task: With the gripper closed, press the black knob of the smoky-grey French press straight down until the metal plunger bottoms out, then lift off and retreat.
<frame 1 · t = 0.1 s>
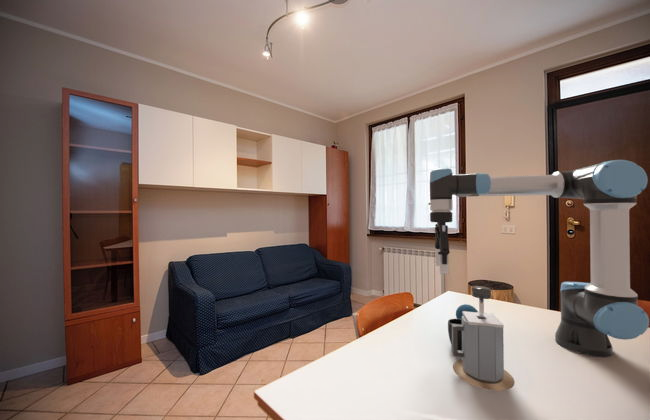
hand: (441, 269, 99), 28 cm above the table, fingers open, 13 cm apart
plunger: (481, 308, 82), point 20 cm above the table, slide at 0.0 cm
mug: (465, 349, 97), on the table
cork trivet: (482, 375, 82), on the table
carafe: (482, 373, 82), resting on cork trivet
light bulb: (467, 335, 108), on the table
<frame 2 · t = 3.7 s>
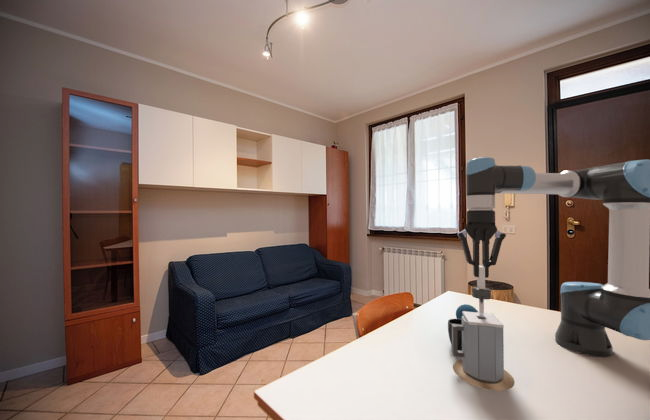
hand: (481, 287, 82), 26 cm above the table, fingers closed
plunger: (481, 308, 82), point 20 cm above the table, slide at 0.2 cm, touching gripper
everything else where it was.
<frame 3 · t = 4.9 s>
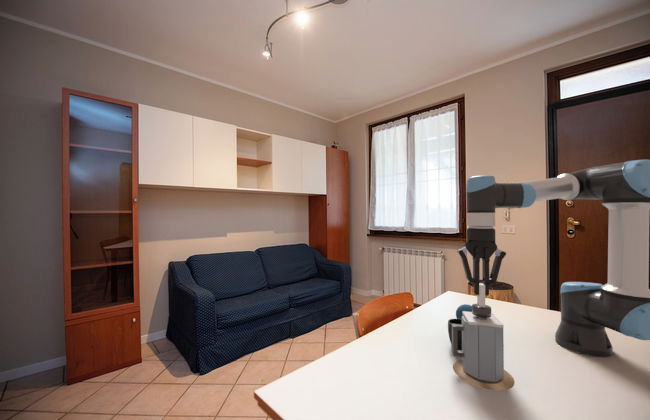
hand: (481, 305, 82), 21 cm above the table, fingers closed
plunger: (481, 326, 82), point 15 cm above the table, slide at 5.5 cm, touching gripper
everything else where it was.
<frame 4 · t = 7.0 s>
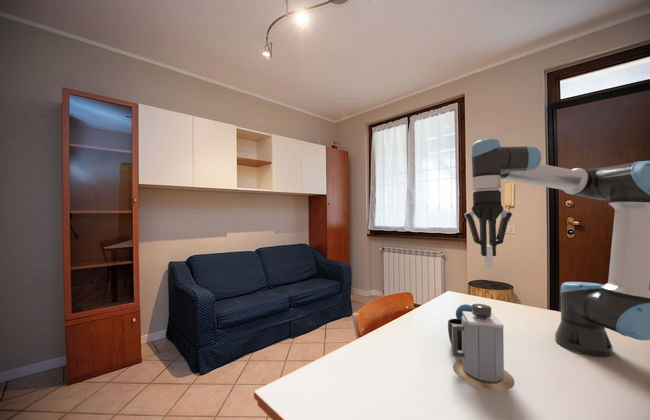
hand: (488, 266, 84), 32 cm above the table, fingers closed
plunger: (481, 326, 82), point 15 cm above the table, slide at 5.5 cm
everything else where it was.
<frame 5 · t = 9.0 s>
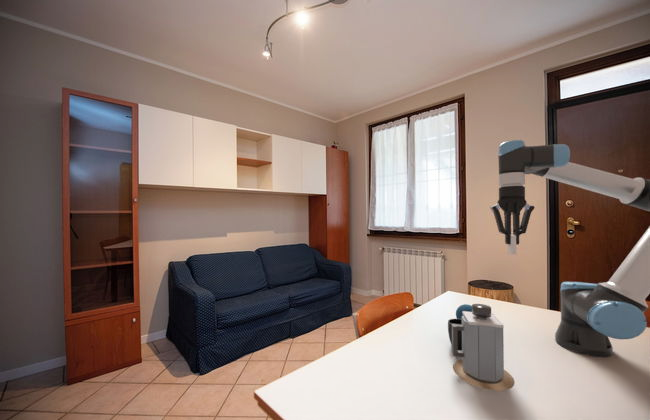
hand: (512, 253, 95), 34 cm above the table, fingers closed
nothing on the table moved.
at the end: plunger slide at 5.5 cm; the gripper is holding nothing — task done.
